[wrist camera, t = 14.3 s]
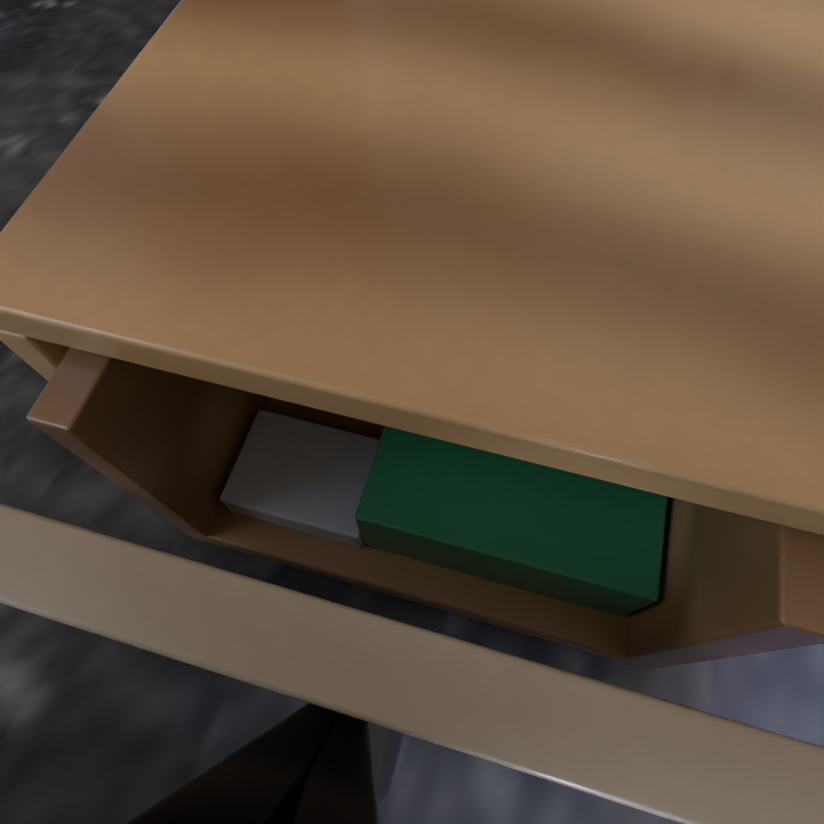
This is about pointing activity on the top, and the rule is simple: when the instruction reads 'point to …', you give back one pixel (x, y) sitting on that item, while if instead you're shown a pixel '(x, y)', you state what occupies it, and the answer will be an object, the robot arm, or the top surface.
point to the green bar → (455, 509)
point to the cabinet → (466, 229)
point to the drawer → (428, 585)
